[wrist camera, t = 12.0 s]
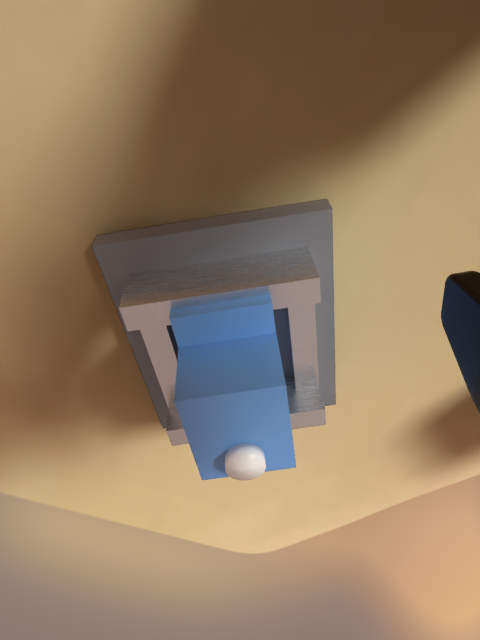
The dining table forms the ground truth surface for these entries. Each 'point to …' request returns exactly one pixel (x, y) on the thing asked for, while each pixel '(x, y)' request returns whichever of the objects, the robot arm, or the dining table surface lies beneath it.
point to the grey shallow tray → (230, 294)
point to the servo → (232, 388)
